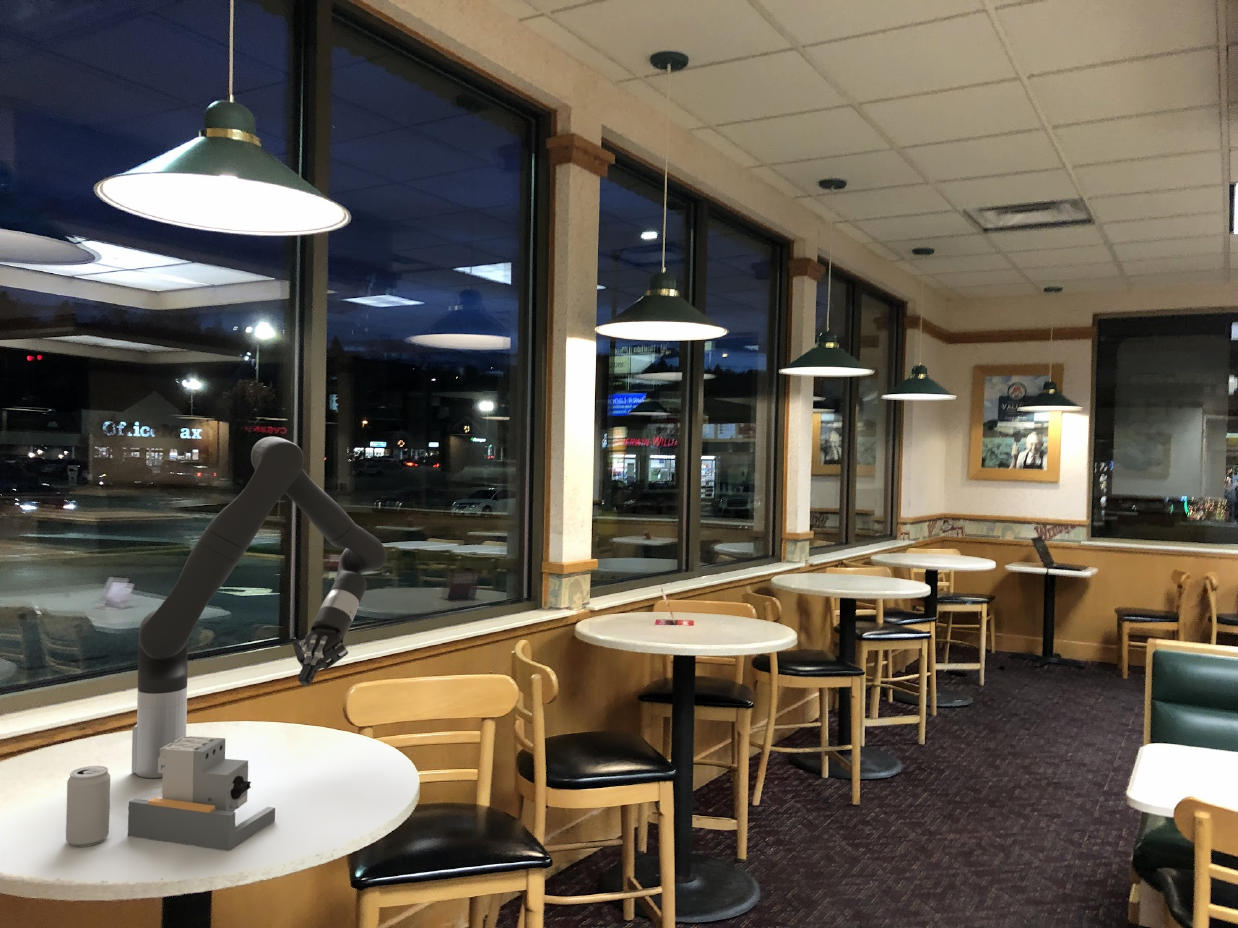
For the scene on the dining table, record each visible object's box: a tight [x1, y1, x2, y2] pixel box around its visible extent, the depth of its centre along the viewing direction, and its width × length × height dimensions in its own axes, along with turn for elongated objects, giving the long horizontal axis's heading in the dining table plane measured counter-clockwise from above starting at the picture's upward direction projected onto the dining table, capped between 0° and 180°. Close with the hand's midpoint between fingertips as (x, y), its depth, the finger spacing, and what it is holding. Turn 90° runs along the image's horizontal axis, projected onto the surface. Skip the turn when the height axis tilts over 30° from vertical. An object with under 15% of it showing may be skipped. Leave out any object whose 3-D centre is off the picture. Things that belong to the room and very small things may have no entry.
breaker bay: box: [127, 797, 276, 852], centre depth 165 cm, size 20×13×7 cm, turn 77°
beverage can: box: [65, 765, 111, 848], centre depth 158 cm, size 6×6×12 cm
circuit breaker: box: [158, 735, 252, 812], centre depth 165 cm, size 8×14×15 cm, turn 84°
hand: (303, 683), depth 194 cm, fingers closed
